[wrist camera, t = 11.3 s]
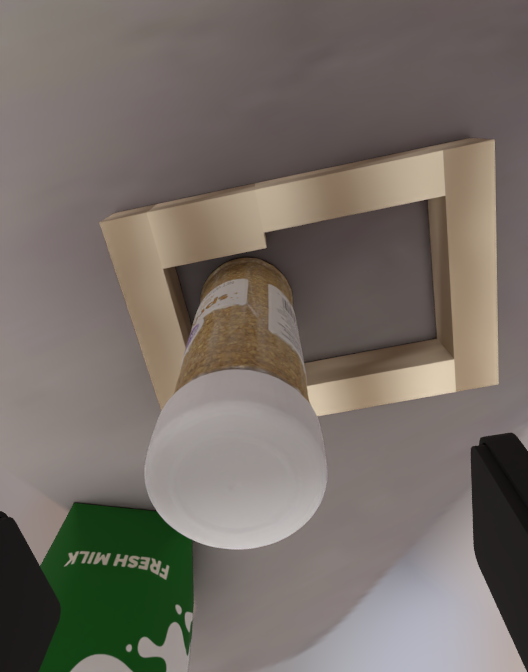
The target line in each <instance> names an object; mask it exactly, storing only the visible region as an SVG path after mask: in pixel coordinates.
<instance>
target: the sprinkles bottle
mask: <svg viewBox="0 0 528 672" xmlns="http://www.w3.org/2000/svg"><path fill="white" fill-rule="evenodd" d="M144 475H145V485H146V489H147V492H148V495H149V498H150V500H151V502H152V504H153V506H154V507H155V509H156V511H157V512H158V513H159V515H160V516H161V517H162V518H163V519H164V521H165V522H166V523H167V524H169V525H170V526H171V527H172V528H174V529H175V530H176V531H178V532H179V533H181V534H182V535H184V536H186V537H187V538H189V539H192V540H194V541H196V542H199V543H201V544H204V545H208V546H211V547H216V548H224V549H250V548H257V547H262V546H265V545H269V544H273V543H275V542H278V541H280V540H282V539H284V538H286V537H288V536H289V535H291V534H293V533H294V532H295V531H297V530H298V529H300V528H301V527H302V526H303V525H304V524H305V523H307V522H308V521H309V519H310V518H311V517H312V516H313V514H314V513H315V512H316V510H317V508H318V507H319V505H320V503H321V501H322V499H323V495H324V493H325V489H326V484H327V462H326V455H325V448H324V443H323V437H322V432H321V427H320V423H319V420H318V418H317V416H316V413H315V411H314V410H313V408H312V406H311V404H310V402H309V398H308V390H307V376H306V370H305V364H304V359H303V354H302V349H301V343H300V338H299V332H298V327H297V321H296V317H295V313H294V310H293V295H292V291H291V288H290V286H289V284H288V282H287V280H286V278H285V277H284V275H283V274H281V272H280V271H279V270H277V269H276V268H275V267H274V266H273V265H270V264H268V263H267V262H264V261H262V260H260V259H257V258H239V259H236V260H231V261H229V262H226V263H224V264H222V265H220V266H219V267H218V268H217V269H215V270H214V271H213V272H212V273H211V275H210V276H209V277H208V279H207V280H206V282H205V283H204V285H203V289H202V292H201V296H200V306H199V308H198V310H197V313H196V315H195V319H194V322H193V326H192V329H191V333H190V336H189V340H188V343H187V346H186V350H185V353H184V356H183V359H182V362H181V369H180V375H179V378H178V381H177V383H176V387H175V392H174V394H173V396H172V397H171V398H170V399H169V400H168V401H167V403H166V404H165V406H164V407H163V409H162V411H161V413H160V415H159V418H158V421H157V423H156V426H155V429H154V432H153V434H152V437H151V441H150V444H149V448H148V451H147V455H146V460H145V469H144Z"/></svg>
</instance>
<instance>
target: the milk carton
mask: <svg viewBox="0 0 528 672" xmlns="http://www.w3.org/2000/svg"><path fill="white" fill-rule="evenodd" d="M40 567H41V569H42V571H43V573H44V575H45V576H46V578H47V580H48V582H49V584H50V586H51V587H52V589H53V591H54V593H55V595H56V596H57V598H58V600H59V603H60V607H61V615H60V620H59V623H58V625H57V628H56V630H55V633H54V635H53V638H52V640H51V643H50V645H49V647H48V650H47V652H46V655H45V657H44V660H43V662H42V665H41V667H40V670H39V672H188V666H189V657H190V647H191V636H192V622H193V604H194V601H193V556H192V539H189V538H187V537H186V536H184V535H182V534H181V533H179V532H178V531H176V530H175V529H174V528H172V527H171V526H170V525H169V524H167V523H166V522H165V521H164V519H163V518H162V517H161V516H160V515H159V513H158V512H157V511H148V510H139V509H129V508H119V507H109V506H100V505H90V504H80V503H74V504H73V506H72V508H71V510H70V512H69V513H68V515H67V517H66V519H65V521H64V523H63V525H62V527H61V528H60V531H59V532H58V534H57V536H56V538H55V540H54V542H53V543H52V545H51V547H50V549H49V551H48V553H47V554H46V556H45V558H44V560H43V562H42V564H41V565H40Z"/></svg>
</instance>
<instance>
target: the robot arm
mask: <svg viewBox="0 0 528 672" xmlns="http://www.w3.org/2000/svg"><path fill="white" fill-rule="evenodd" d="M471 477H472V508H473V540H474V551H475V555H476V559H477V562H478V565H479V567H480V570H481V572H482V574H483V576H484V578H485V580H486V583H487V585H488V587H489V589H490V592H491V594H492V596H493V598H494V600H495V603H496V605H497V607H498V609H499V611H500V614H501V615H502V618H503V620H504V622H505V624H506V627H507V629H508V631H509V633H510V635H511V638H512V639H513V642H514V644H515V646H516V649H517V651H518V653H519V655H520V657H521V660H522V662H523V664H524V666H525V668H526V670H527V672H528V451H527V449H526V448H525V447H524V445H523V444H522V443H521V441H520V440H519V439H518V437H517V436H516V435H515V434H513V433H505V434H499V435H492V436H486V437H482V438H480V442H479V446H473V447H472V448H471ZM60 615H61V607H60V603H59V600H58V598H57V596H56V595H55V593H54V591H53V589H52V587H51V586H50V584H49V582H48V580H47V578H46V576H45V575H44V573H43V571H42V569H41V567H40V566H39V564H38V562H37V560H36V558H35V557H34V555H33V553H32V551H31V549H30V547H29V546H28V544H27V542H26V540H25V538H24V536H23V535H22V533H21V531H20V529H19V527H18V525H17V524H16V522H15V521H14V519H13V518H11V517H8V516H7V515H6V514H5V513H4V512H2V511H0V672H39V670H40V667H41V665H42V662H43V660H44V657H45V655H46V652H47V650H48V647H49V645H50V643H51V640H52V638H53V635H54V633H55V630H56V628H57V625H58V623H59V620H60Z"/></svg>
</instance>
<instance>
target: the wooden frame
mask: <svg viewBox="0 0 528 672" xmlns="http://www.w3.org/2000/svg"><path fill="white" fill-rule="evenodd" d="M427 199H428V214H429V229H430V243H431V258H432V273H433V287H434V302H435V317H436V331H437V339H432V340H427V341H422V342H416V343H411V344H405V345H400V346H395V347H389V348H384V349H378V350H373V351H368V352H362V353H357V354H351V355H346V356H340V357H335V358H330V359H324V360H319V361H313V362H308V363H304V364H305V370H306V376H307V390H308V398H309V402H310V404H311V406H312V408H313V410H314V411H315V413H316V416H322V415H328V414H333V413H339V412H344V411H350V410H356V409H361V408H367V407H373V406H378V405H384V404H390V403H395V402H401V401H406V400H412V399H418V398H423V397H429V396H435V395H440V394H446V393H452V392H457V391H463V390H468V389H474V388H480V387H485V386H491V385H497V384H498V319H497V252H496V186H495V140H494V139H479V138H467V139H463V140H458V141H453V142H448V143H444V144H439V145H434V146H429V147H425V148H420V149H415V150H410V151H406V152H401V153H396V154H392V155H387V156H382V157H377V158H373V159H368V160H363V161H358V162H354V163H349V164H344V165H339V166H335V167H330V168H325V169H320V170H316V171H311V172H306V173H301V174H297V175H292V176H287V177H282V178H278V179H273V180H268V181H263V182H259V183H254V184H249V185H245V186H240V187H235V188H230V189H226V190H221V191H216V192H211V193H207V194H202V195H197V196H192V197H188V198H183V199H178V200H173V201H169V202H164V203H159V204H154V205H150V206H145V207H140V208H135V209H131V210H126V211H121V212H116V213H114V214H112V215H111V216H109V217H107V218H106V219H104V220H103V221H101V222H99V223H100V226H101V229H102V232H103V235H104V238H105V241H106V244H107V247H108V250H109V253H110V256H111V260H112V263H113V266H114V269H115V272H116V275H117V278H118V281H119V284H120V287H121V290H122V293H123V296H124V299H125V302H126V305H127V308H128V311H129V314H130V317H131V320H132V323H133V326H134V329H135V332H136V335H137V338H138V341H139V344H140V347H141V350H142V353H143V356H144V360H145V363H146V366H147V369H148V372H149V375H150V378H151V381H152V384H153V387H154V390H155V393H156V396H157V399H158V402H159V405H160V408H161V411H162V409H163V407H164V406H165V404H166V403H167V401H168V400H169V399H170V398H171V397H172V396H173V394H174V392H175V387H176V383H177V381H178V378H179V375H180V369H181V362H182V359H183V356H184V353H185V350H186V346H187V343H188V340H189V336H190V333H191V329H192V326H191V322H190V319H189V315H188V311H187V308H186V304H185V301H184V297H183V294H182V290H181V286H180V283H179V279H178V276H177V272H176V269H175V266H180V265H185V264H190V263H195V262H200V261H205V260H210V259H214V258H219V257H224V256H229V255H234V254H239V253H244V252H249V251H254V250H259V249H264V248H267V247H266V235H265V232H270V231H275V230H280V229H285V228H289V227H294V226H299V225H304V224H309V223H314V222H319V221H324V220H329V219H334V218H338V217H343V216H348V215H353V214H358V213H363V212H368V211H373V210H378V209H383V208H388V207H392V206H397V205H402V204H407V203H412V202H417V201H422V200H427Z"/></svg>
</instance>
